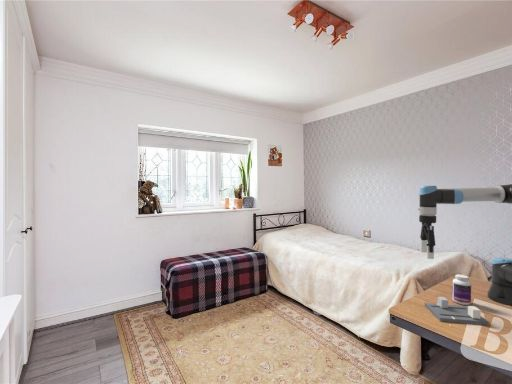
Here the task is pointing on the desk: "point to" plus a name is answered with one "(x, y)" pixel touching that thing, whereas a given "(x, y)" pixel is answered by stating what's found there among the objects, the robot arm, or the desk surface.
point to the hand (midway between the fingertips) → (427, 255)
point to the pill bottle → (461, 290)
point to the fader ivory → (474, 312)
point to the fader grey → (442, 302)
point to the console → (454, 314)
